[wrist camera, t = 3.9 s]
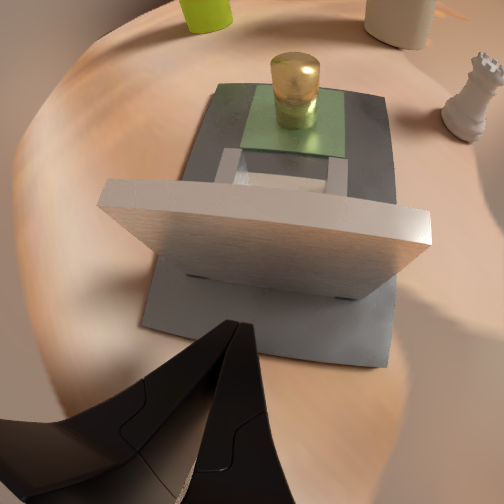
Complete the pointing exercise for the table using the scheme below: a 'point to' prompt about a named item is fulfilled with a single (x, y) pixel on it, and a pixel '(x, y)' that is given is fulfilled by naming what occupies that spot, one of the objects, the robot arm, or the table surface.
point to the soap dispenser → (206, 15)
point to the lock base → (294, 178)
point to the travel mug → (400, 21)
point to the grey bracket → (271, 230)
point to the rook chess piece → (473, 99)
